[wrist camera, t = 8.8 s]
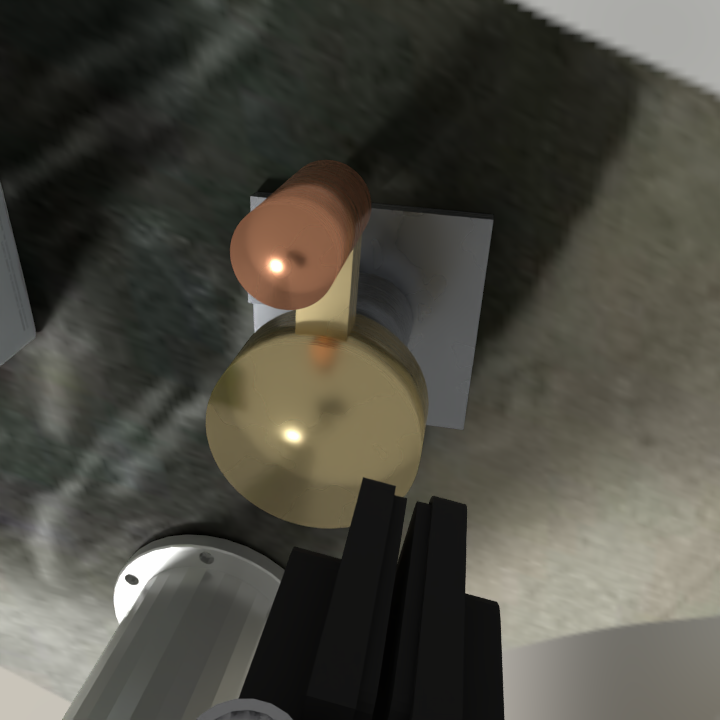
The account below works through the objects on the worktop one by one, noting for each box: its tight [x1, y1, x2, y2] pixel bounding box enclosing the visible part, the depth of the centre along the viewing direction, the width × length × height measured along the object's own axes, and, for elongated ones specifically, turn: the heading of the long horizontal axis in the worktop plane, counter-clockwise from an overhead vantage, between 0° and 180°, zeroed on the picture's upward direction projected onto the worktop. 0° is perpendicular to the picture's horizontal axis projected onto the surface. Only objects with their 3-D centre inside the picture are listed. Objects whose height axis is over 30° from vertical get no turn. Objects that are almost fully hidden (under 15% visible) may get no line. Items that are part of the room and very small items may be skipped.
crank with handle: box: [206, 160, 429, 529], centre depth 20 cm, size 12×7×7 cm, turn 175°
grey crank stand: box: [248, 192, 494, 430], centre depth 27 cm, size 10×10×9 cm
